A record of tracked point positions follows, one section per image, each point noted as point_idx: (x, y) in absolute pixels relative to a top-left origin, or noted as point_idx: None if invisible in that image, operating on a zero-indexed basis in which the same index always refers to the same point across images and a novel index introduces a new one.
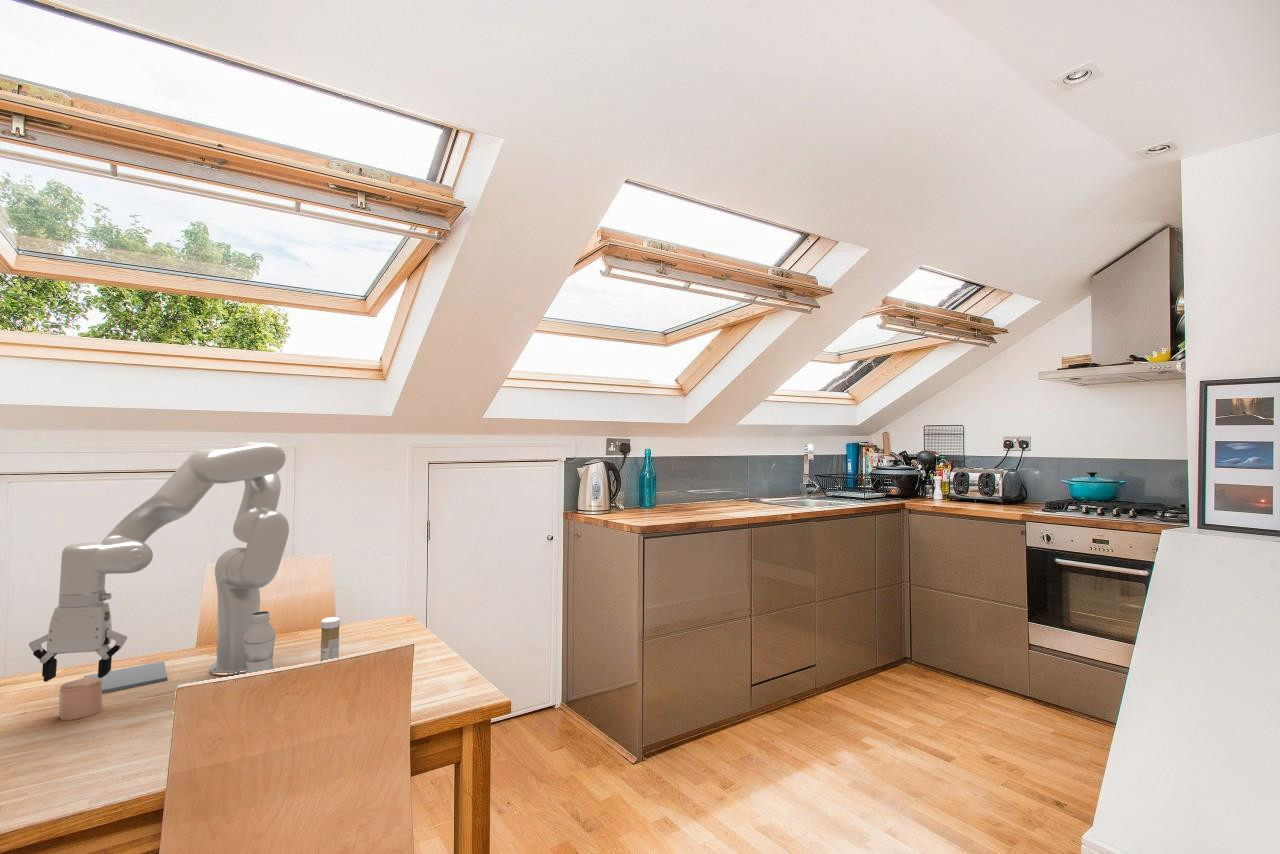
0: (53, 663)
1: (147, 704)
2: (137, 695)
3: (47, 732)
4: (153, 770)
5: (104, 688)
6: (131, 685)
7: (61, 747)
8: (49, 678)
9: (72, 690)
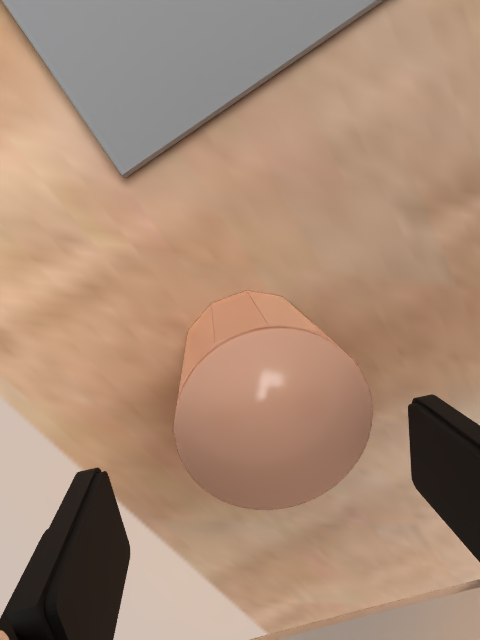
0: (83, 626)
1: (472, 296)
2: (385, 183)
3: None
4: None
5: (190, 100)
6: (304, 52)
7: (363, 584)
8: (122, 544)
9: (286, 501)
